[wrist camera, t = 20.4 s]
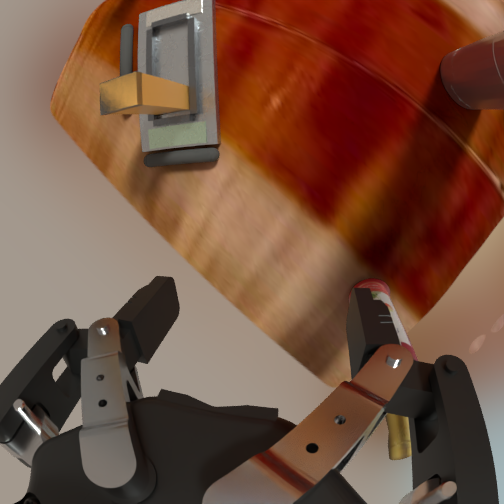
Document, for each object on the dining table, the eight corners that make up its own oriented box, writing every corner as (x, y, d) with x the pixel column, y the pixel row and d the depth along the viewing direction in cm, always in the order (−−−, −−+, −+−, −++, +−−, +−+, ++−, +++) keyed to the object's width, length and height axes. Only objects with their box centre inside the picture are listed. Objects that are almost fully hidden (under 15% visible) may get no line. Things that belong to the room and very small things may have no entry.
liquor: (384, 266, 39) (444, 425, 14) (392, 303, 42) (436, 454, 17) (341, 281, 42) (359, 450, 17) (352, 316, 44) (368, 473, 19)
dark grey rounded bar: (220, 146, 37) (216, 147, 35) (221, 160, 38) (217, 162, 36) (147, 154, 39) (140, 155, 37) (148, 166, 40) (141, 168, 38)
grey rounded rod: (135, 110, 36) (128, 109, 34) (125, 112, 37) (118, 112, 35) (135, 24, 30) (129, 21, 28) (125, 27, 30) (119, 25, 28)
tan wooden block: (189, 110, 34) (137, 104, 22) (159, 115, 34) (100, 115, 23) (188, 85, 32) (136, 71, 20) (158, 91, 33) (99, 83, 21)
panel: (220, 143, 37) (214, 144, 34) (147, 151, 39) (136, 153, 36) (215, -3, 27) (208, -11, 24) (144, 16, 29) (134, 11, 26)
